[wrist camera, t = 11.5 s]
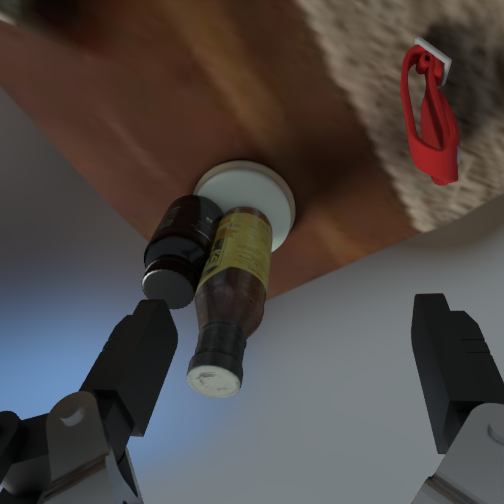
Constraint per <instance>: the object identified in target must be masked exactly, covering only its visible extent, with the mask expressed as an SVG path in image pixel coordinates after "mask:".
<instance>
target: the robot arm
mask: <svg viewBox="0 0 504 504" xmlns="http://www.w3.org/2000/svg"><path fill="white" fill-rule="evenodd" d="M411 341H412V347H413V353H414V357H415V361H416V365H417V369H418V373H419V377H420V381H421V386H422V390H423V394H424V398H425V402H426V406H427V411H428V415H429V419H430V423H431V427H432V431H433V435H434V439H435V444H436V448H437V452H438V454H446V455H445V457H444V458H443V460H442V462H441V463H440V465H439V467H438V468H437V470H436V472H435V473H434V475H433V476H432V477H428V478H427V479H426V481H425V482H424V483H423V485H422V486H421V488H420V490H419V491H418V493H417V495H416V496H415V498H414V500H413V501H412V503H411V504H504V382H503V380H502V378H501V376H500V373H499V371H498V369H497V366H496V364H495V362H494V359H493V357H492V355H490V351H489V348H488V346H487V344H486V342H485V340H484V337H483V334H482V332H481V330H480V328H479V325H478V324H477V323H476V322H475V321H474V320H473V319H472V318H471V317H470V316H469V315H468V314H467V313H466V312H465V311H450V309H449V306H448V303H447V301H446V298H445V296H444V295H443V294H442V293H434V294H416V295H415V299H414V307H413V317H412V327H411ZM177 344H178V333H177V329H176V326H175V324H174V321H173V318H172V316H171V313H170V311H169V308H168V305H167V303H166V301H165V300H164V299H149V300H141V301H140V302H139V304H138V305H137V307H136V309H135V311H134V313H133V315H127V316H126V317H125V318H123V319H122V320H121V321H120V322H119V323H118V324H117V325H116V326H115V328H114V330H113V332H112V333H111V335H110V337H109V338H108V341H107V342H106V344H105V345H104V347H103V349H102V350H103V351H102V352H101V353H100V354H99V356H98V358H97V360H96V361H95V363H94V365H93V367H92V368H91V370H90V372H89V374H88V375H87V377H86V379H85V381H84V382H83V384H82V386H81V388H80V389H79V391H78V392H75V393H72V394H70V395H68V396H66V397H64V398H63V399H61V400H60V401H59V402H58V403H57V404H56V405H55V406H54V407H53V408H52V410H51V411H50V413H47V414H43V415H40V416H36V417H32V418H29V419H25V420H21V419H20V418H19V417H18V416H17V415H16V413H14V412H11V411H2V412H0V485H2V486H3V489H2V491H1V492H0V504H144V502H143V499H142V496H141V492H140V489H139V485H138V483H137V479H136V475H135V472H134V468H133V465H132V462H131V458H130V455H129V451H128V449H127V447H126V445H127V443H128V440H129V437H130V436H138V437H139V436H140V437H143V436H144V434H145V431H146V428H147V426H148V423H149V420H150V418H151V415H152V412H153V410H154V407H155V404H156V402H157V399H158V396H159V394H160V391H161V388H162V386H163V383H164V380H165V377H166V375H167V372H168V370H169V367H170V364H171V362H172V359H173V356H174V354H175V350H176V348H177Z"/></svg>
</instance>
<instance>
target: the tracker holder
mask: <svg viewBox="0 0 504 504" xmlns="http://www.w3.org/2000/svg"><path fill="white" fill-rule="evenodd" d="M442 62H444V63H445V66H444V70H443V73H442V68H443V66H442ZM451 62H452V60H451V59H450V58H449V57H448V56H446V55H445V54H443V53H442V52H441V51H439V50H438V49H436V48H435V47H434V46H432V45H431V44H429V43H428V42H427V41H425V40H424V39H423V38H421V37H420V36H419V37H417V38H416V39H415V44H414V46H413V47H412V48H411V49H410V50H408V52H407V53H406V55H405V57H404V60H403V64H402V73H401V83H400V92H401V100H402V106H403V112H404V118H405V124H406V130H407V136H408V142H409V147H410V153H411V157H412V159H413V162H414V163H415V165H416V166H417V167H418V168H419V169H420V170H421V171H423V172H425V173H426V174H428V175H430V176H431V178H432V180H433V182H434V183H435V184H437V185H441V186H443V185H447V184H448V183H452V182H456V181H457V180H458V165H459V163H460V161H461V151H460V149H459V148H460V136H459V129H458V124H457V121H456V118H455V115H454V113H453V112H452V110H451V109H450V106H449V104H448V101H447V99H446V97H445V95H444V94H443V92H442V91H441V90H438V88H437V86H439V85H440V86H443V85H445V82H446V79H447V75H448V72H449V69H450V65H451ZM413 65H414V66H415V67H416V71H417V73H418V74H425V79H426V91H425V96H424V98H423V101H422V107H421V134H422V139H421V138H420V137H419V136H418V134H417V131H416V128H415V122H414V117H413V111H412V106H411V100H410V95H409V89H408V71H409V69H410V68H411V67H412V66H413ZM441 75H442V77H441Z"/></svg>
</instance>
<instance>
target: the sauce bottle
mask: <svg viewBox="0 0 504 504" xmlns="http://www.w3.org/2000/svg"><path fill="white" fill-rule="evenodd" d="M272 234H273V233H272V226H271V223H270V222H269V220H268V218H267V217H266V215H265V214H263V213H262V212H261V211H260V210H257V209H255V208H251V207H244V206H242V207H236V208H233V209H231V210H229V211H228V212H227V213H226V214H225V215H224V216H223V218H222V220H221V221H220V224H219V227H218V231H217V234H216V237H215V241H214V244H213V247H212V251H211V254H210V257H209V259H208V261H207V262H206V264H205V267H204V269H203V272H202V275H201V278H200V282H199V284H198V288H197V291H196V294H195V307H196V312H197V318H198V325H199V332H200V333H199V336H198V343H197V347H196V349H195V355H194V356H193V357H192V358H191V361H190V363H189V367H188V372H187V381H188V383H189V385H190V386H191V387H192V388H193V389H194V390H195V391H197V392H199V393H200V394H202V395H204V396H207V397H213V398H225V397H229V396H232V395H234V394H236V393H237V392H238V391H239V390H240V388H241V384H242V378H243V368H242V360H243V355H244V349H245V347H246V339H247V338H248V337H249V336H251V335H252V334H253V332H255V331H256V329H257V328H258V327H259V325H260V324H261V321H262V317H263V314H264V303H265V300H266V296H267V288H268V278H269V269H270V261H271V252H272V242H273V236H272Z"/></svg>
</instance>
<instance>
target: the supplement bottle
mask: <svg viewBox="0 0 504 504" xmlns="http://www.w3.org/2000/svg"><path fill="white" fill-rule="evenodd" d="M223 216H224V214H223V212H222V210H221V209H220V207H219V206H218V205H217V204H216V203H214V202H213V201H212V200H210V199H208V198H206V197H203V196H199V195H186V196H182V197H180V198H178V199H176V200H175V201H174V202H173V203H172V204H171V205H170V206H169V208H168V210H167V211H166V213H165V215H164V216H163V218H162V220H161V222H160V224H159V225H158V227H157V229H156V231H155V232H154V234H153V236H152V238H151V240H150V241H149V243H148V245H147V247H146V249H145V252H144V266H145V269H146V272H145V274H144V276H143V280H142V288H143V292H144V294H145V295H146V297H147V298H148V299H164V300H165V301H166V303H167V305H168V308H169V309H180V308H184V307H186V306H187V305H188V304H190V303H191V301H193V298H194V296H195V294H196V291H197V288H198V284H199V282H200V278H201V275H202V272H203V269H204V267H205V264H206V262H207V261H208V259H209V257H210V254H211V251H212V247H213V244H214V241H215V237H216V234H217V231H218V227H219V224H220V221H221V220H222V218H223Z"/></svg>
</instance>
